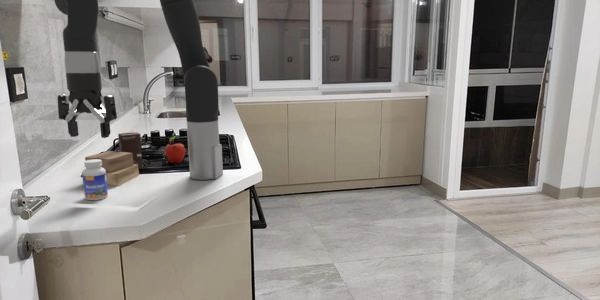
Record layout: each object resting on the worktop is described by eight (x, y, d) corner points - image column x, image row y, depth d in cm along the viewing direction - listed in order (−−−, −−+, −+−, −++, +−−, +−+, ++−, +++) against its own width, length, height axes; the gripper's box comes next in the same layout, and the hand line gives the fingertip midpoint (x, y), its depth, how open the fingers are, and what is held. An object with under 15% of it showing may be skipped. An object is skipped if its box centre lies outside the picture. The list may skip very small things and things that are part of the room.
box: (123, 173, 131) (120, 135, 129) (121, 170, 135) (117, 133, 133) (143, 170, 135) (140, 133, 132) (140, 167, 138) (137, 131, 136)
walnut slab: (133, 165, 126) (132, 152, 126) (111, 173, 118) (109, 159, 117) (109, 163, 129) (108, 150, 128) (86, 170, 121) (85, 157, 120)
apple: (163, 162, 145) (160, 134, 143) (182, 159, 149) (180, 132, 147) (170, 166, 139) (168, 137, 137) (190, 163, 143) (188, 135, 141)
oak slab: (139, 177, 129) (138, 164, 128) (118, 187, 118) (117, 173, 117) (106, 175, 130) (105, 163, 130) (83, 185, 120) (81, 172, 119)
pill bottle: (85, 202, 104) (80, 164, 102) (84, 196, 109) (80, 159, 107) (108, 198, 107) (105, 161, 105) (107, 193, 111) (104, 157, 109)
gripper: (119, 71, 104) (124, 135, 107) (67, 70, 106) (74, 133, 109) (100, 71, 97) (106, 140, 100) (45, 71, 99) (53, 138, 102)
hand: (89, 136), depth 105 cm, fingers open, 8 cm apart
